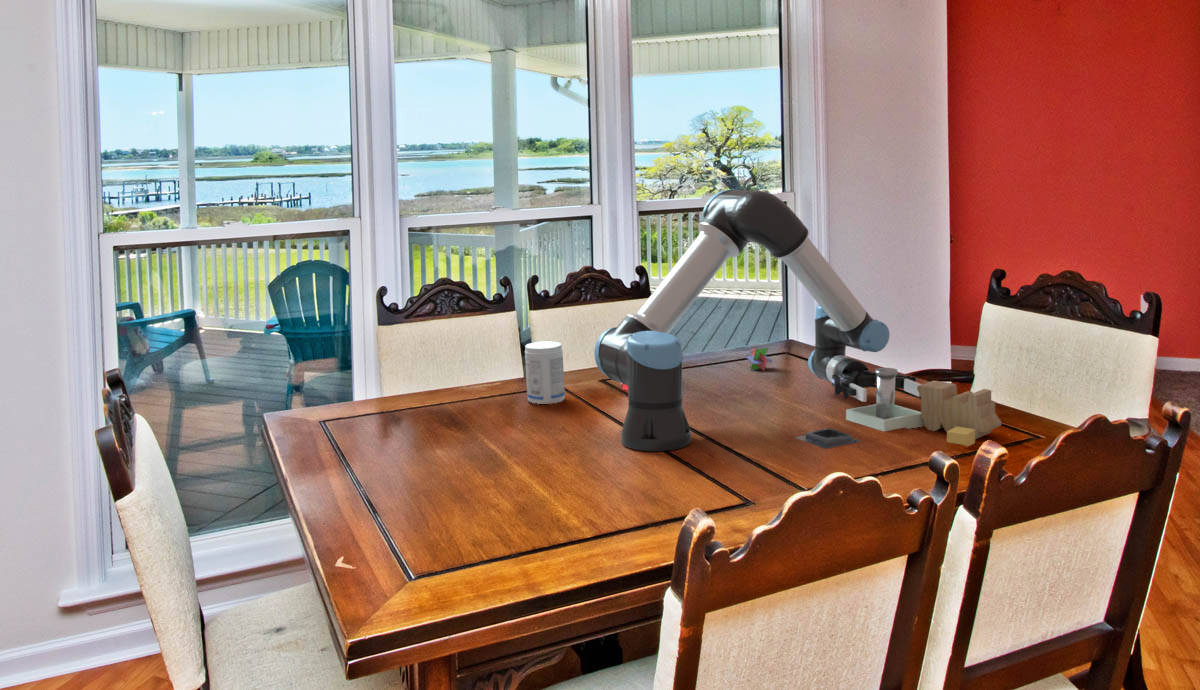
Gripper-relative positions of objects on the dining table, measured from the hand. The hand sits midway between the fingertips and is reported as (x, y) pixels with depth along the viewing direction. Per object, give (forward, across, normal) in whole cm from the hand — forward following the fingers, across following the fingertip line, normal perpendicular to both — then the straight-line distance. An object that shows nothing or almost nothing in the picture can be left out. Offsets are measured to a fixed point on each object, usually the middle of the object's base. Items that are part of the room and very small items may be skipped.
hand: (893, 393), depth 224 cm
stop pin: (-3, 0, -7) cm, 8 cm away
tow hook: (-56, +43, -8) cm, 71 cm away
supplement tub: (-51, +69, -8) cm, 86 cm away
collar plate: (+6, +18, -8) cm, 21 cm away
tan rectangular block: (+15, -7, -8) cm, 19 cm away
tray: (-3, 0, -8) cm, 9 cm away
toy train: (+8, -12, -8) cm, 16 cm away
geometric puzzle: (-66, +4, -8) cm, 67 cm away
